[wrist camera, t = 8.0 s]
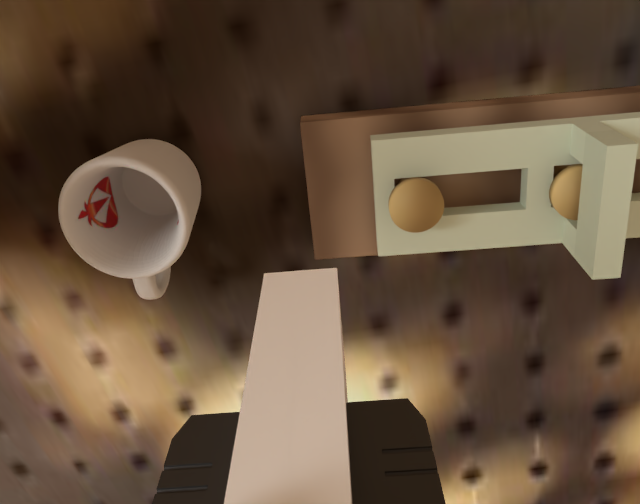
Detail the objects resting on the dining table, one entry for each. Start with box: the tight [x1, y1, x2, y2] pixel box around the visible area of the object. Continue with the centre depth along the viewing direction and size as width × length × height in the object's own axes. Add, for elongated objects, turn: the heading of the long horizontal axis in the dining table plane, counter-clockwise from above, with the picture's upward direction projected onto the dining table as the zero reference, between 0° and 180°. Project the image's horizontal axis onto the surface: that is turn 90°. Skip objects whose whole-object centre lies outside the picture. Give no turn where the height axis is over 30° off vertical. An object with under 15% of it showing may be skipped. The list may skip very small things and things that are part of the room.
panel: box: [370, 112, 640, 280], centre depth 36 cm, size 21×8×7 cm, turn 95°
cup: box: [58, 139, 201, 300], centre depth 40 cm, size 11×8×8 cm
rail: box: [300, 86, 640, 260], centre depth 39 cm, size 26×10×6 cm, turn 95°
